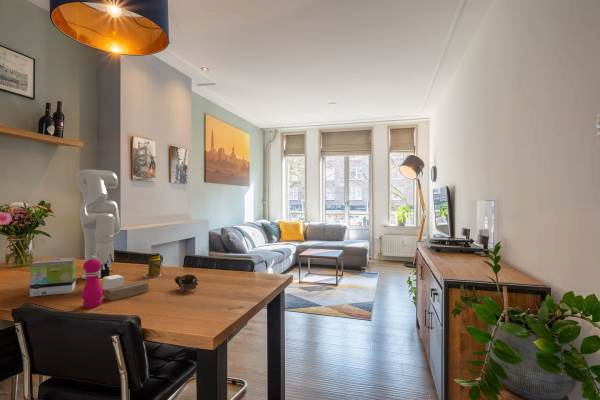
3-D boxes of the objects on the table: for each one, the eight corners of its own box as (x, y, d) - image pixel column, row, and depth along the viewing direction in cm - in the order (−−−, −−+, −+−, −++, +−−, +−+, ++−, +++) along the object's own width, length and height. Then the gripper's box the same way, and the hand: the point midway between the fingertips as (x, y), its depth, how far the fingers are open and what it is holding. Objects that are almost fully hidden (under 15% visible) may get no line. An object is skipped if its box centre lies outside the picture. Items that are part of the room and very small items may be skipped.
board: (104, 298, 135) (104, 288, 134) (141, 289, 147) (141, 280, 147) (110, 300, 131) (110, 291, 131) (148, 291, 144) (148, 282, 144)
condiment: (162, 275, 173) (162, 254, 173) (145, 277, 168) (145, 255, 168) (159, 273, 179) (159, 252, 179) (143, 275, 174) (143, 253, 174)
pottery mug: (202, 288, 152) (202, 275, 148) (191, 302, 144) (190, 289, 140) (180, 280, 154) (179, 267, 150) (168, 293, 146) (167, 281, 142)
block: (103, 290, 146) (103, 277, 146) (116, 287, 151) (116, 274, 151) (110, 292, 142) (110, 279, 142) (123, 289, 147) (123, 276, 147)
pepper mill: (88, 302, 129) (88, 253, 129) (106, 302, 130) (106, 253, 129) (77, 308, 122) (77, 257, 121) (96, 308, 122) (96, 257, 122)
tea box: (29, 297, 134) (29, 263, 134) (35, 291, 143) (35, 259, 143) (72, 293, 141) (72, 260, 141) (76, 287, 150) (75, 256, 150)
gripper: (89, 239, 153) (89, 276, 153) (103, 241, 144) (103, 281, 145) (106, 237, 159) (106, 273, 159) (120, 240, 151) (120, 278, 151)
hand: (105, 277), depth 152 cm, fingers closed
